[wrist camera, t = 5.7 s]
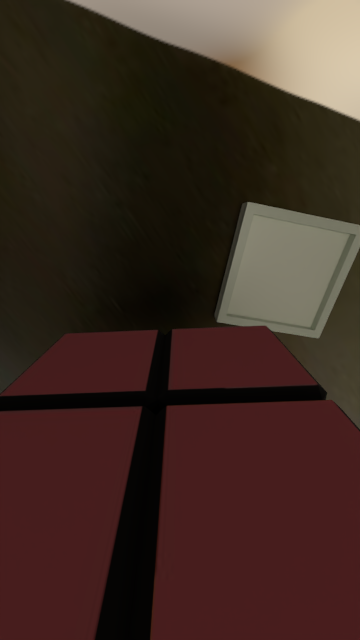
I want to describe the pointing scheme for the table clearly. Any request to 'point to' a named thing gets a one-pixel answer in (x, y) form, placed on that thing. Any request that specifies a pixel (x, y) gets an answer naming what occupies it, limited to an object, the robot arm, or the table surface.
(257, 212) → the baseplate
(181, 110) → the table surface
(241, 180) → the table surface
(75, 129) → the table surface
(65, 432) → the puzzle cube
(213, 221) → the table surface
